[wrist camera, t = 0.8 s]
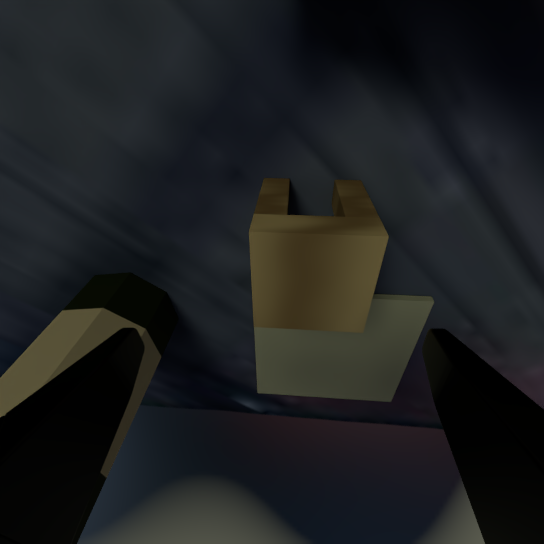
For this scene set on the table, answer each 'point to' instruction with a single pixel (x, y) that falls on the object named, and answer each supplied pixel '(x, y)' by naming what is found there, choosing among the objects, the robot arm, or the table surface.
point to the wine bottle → (85, 337)
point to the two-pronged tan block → (315, 260)
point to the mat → (343, 354)
